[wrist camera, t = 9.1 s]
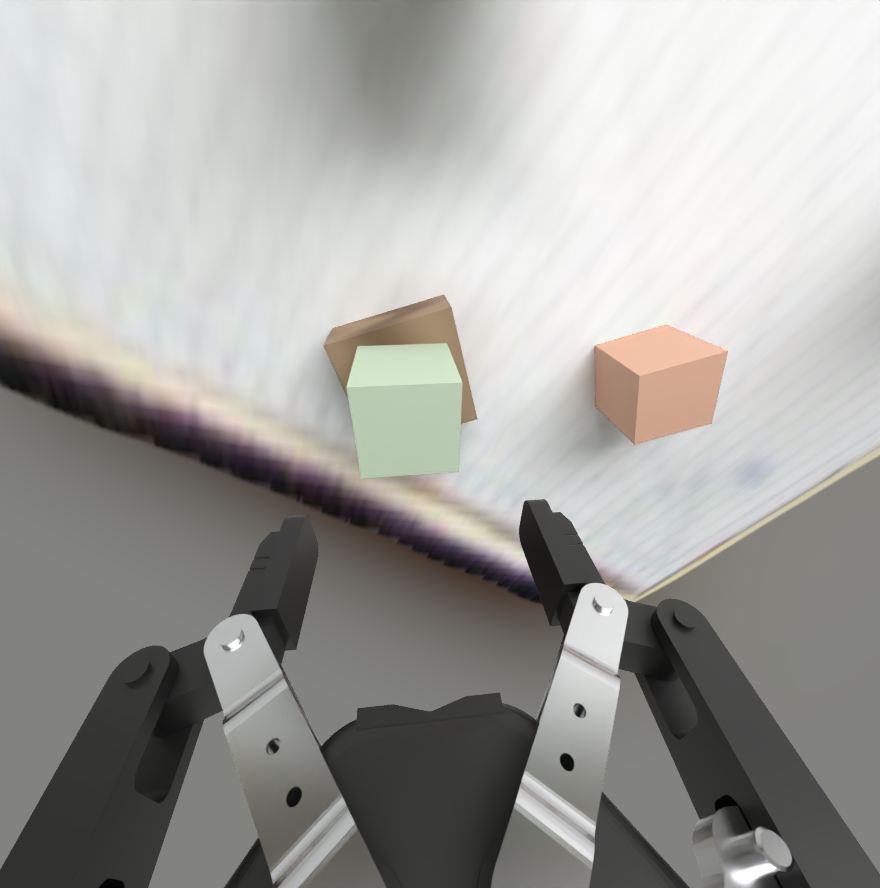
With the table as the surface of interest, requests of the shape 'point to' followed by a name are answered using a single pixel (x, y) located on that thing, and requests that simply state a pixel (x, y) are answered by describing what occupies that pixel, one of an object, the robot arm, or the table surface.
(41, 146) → the table surface
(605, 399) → the terracotta block
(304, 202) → the table surface
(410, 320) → the walnut base
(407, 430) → the sage block
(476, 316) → the table surface
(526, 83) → the table surface
